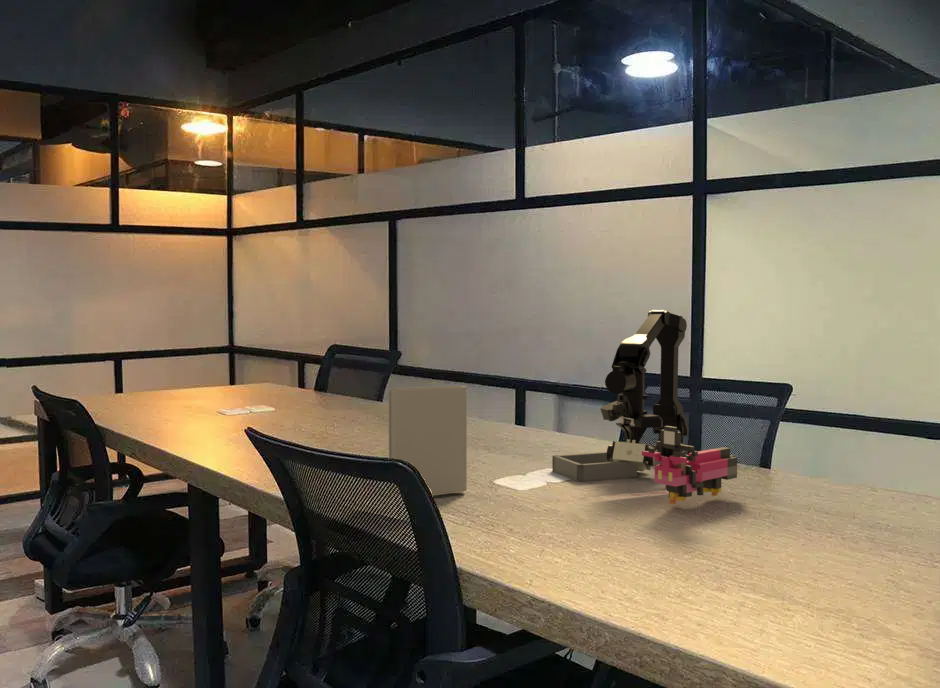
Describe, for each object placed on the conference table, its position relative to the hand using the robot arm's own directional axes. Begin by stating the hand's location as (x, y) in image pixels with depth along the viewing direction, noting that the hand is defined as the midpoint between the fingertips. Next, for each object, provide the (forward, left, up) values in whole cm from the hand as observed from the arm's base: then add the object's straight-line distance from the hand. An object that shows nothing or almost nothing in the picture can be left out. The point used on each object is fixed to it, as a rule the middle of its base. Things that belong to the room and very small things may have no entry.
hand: (632, 451), depth 217 cm
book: (+57, +6, -5) cm, 57 cm away
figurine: (+3, +32, -5) cm, 33 cm away
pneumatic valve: (-2, +1, -3) cm, 4 cm away
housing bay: (+10, 0, -5) cm, 12 cm away
